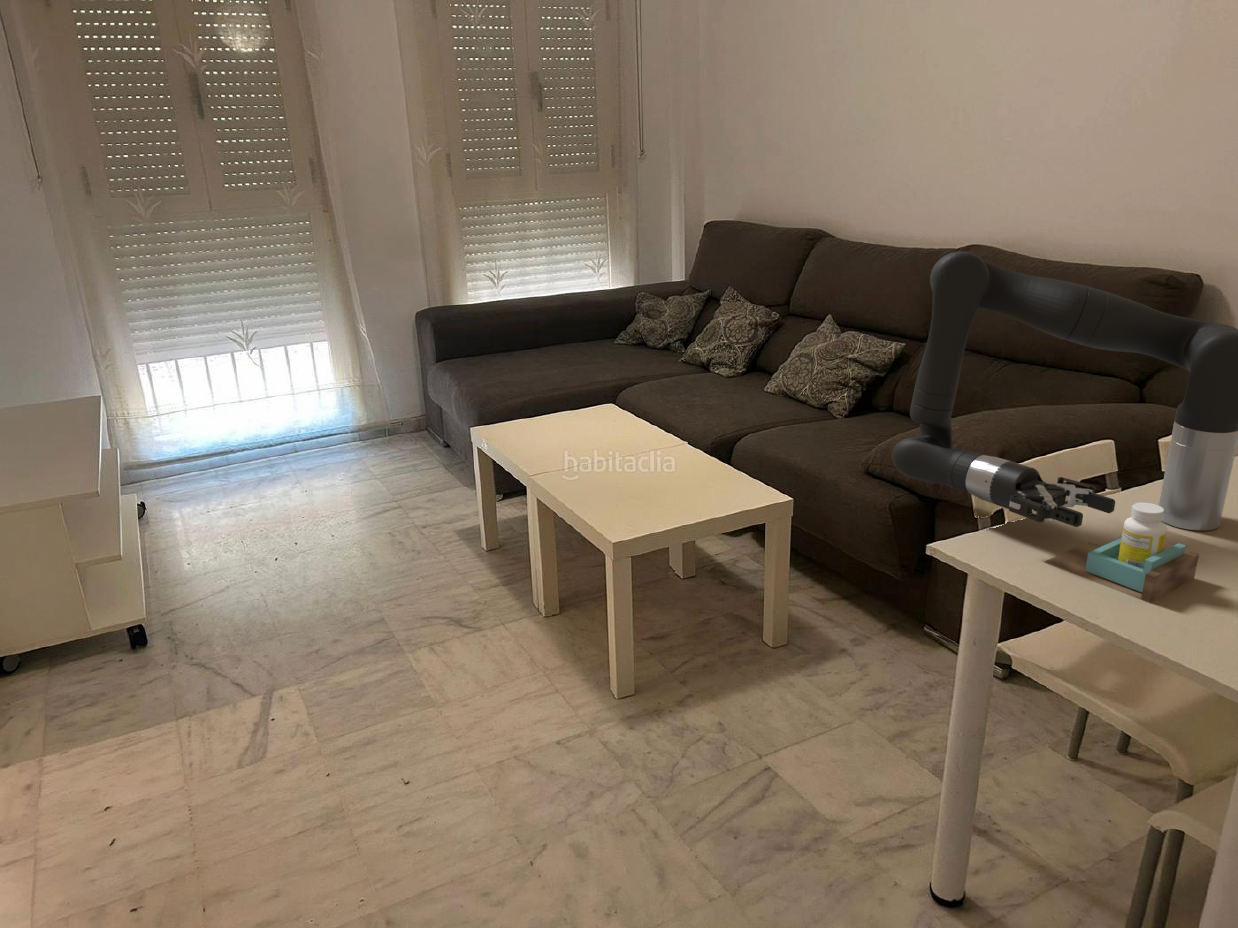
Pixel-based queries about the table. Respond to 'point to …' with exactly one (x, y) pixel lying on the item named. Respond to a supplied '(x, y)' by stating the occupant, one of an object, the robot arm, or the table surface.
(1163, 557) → the teal open tray
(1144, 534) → the supplement bottle
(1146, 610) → the table surface
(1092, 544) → the walnut board
